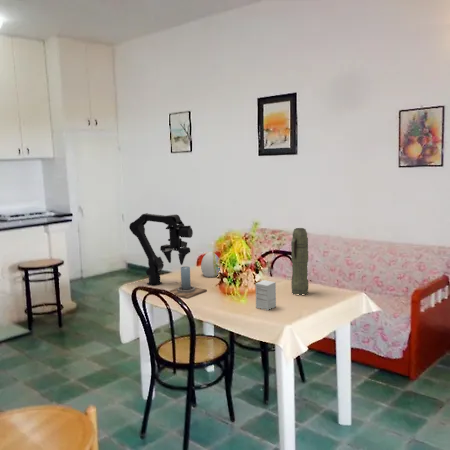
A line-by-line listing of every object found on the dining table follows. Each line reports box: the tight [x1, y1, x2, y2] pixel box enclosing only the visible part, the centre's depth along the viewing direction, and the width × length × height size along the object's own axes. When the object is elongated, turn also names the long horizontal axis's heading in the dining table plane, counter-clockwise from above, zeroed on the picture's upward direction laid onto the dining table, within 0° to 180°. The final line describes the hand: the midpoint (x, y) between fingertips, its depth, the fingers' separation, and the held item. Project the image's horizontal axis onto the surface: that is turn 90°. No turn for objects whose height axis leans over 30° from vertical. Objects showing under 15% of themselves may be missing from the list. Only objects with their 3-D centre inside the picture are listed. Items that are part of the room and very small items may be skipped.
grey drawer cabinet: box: [255, 279, 277, 311], centre depth 239 cm, size 7×7×13 cm
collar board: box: [169, 285, 208, 300], centre depth 268 cm, size 16×16×2 cm
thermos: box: [290, 227, 309, 296], centre depth 260 cm, size 9×12×35 cm
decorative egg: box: [200, 251, 221, 278], centre depth 303 cm, size 12×12×15 cm
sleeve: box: [180, 266, 192, 290], centre depth 267 cm, size 5×5×13 cm
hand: (175, 263), depth 280 cm, fingers open, 9 cm apart
